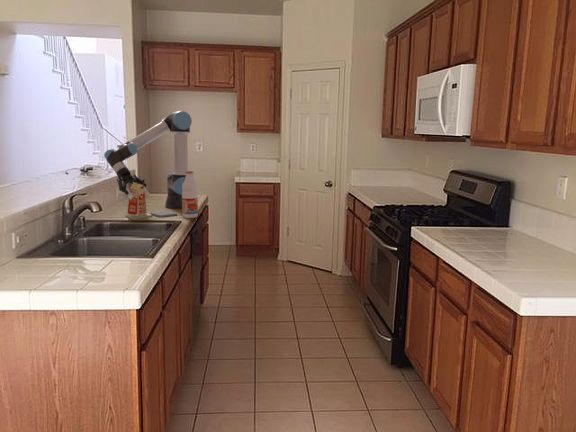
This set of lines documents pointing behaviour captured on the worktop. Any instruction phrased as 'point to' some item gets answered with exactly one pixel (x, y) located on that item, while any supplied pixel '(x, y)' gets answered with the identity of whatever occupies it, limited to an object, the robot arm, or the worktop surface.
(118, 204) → the worktop surface
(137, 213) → the milk carton
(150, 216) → the sage mat
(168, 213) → the slate mat
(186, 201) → the fruit juice
